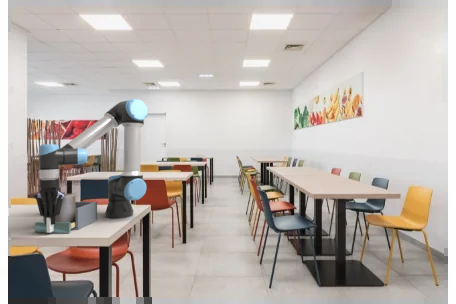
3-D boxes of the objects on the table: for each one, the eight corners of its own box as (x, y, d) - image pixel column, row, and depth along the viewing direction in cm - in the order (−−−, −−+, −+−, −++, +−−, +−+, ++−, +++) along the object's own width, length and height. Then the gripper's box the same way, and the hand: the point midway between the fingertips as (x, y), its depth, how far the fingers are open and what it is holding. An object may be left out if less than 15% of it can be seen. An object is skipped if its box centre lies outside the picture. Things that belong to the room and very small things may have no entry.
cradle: (66, 220, 159) (66, 201, 159) (97, 220, 158) (96, 201, 158) (43, 229, 141) (43, 208, 141) (78, 229, 140) (77, 208, 140)
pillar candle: (66, 220, 151) (65, 190, 151) (80, 221, 147) (79, 191, 147) (48, 224, 142) (47, 193, 142) (63, 226, 138) (62, 194, 138)
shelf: (59, 222, 152) (59, 214, 152) (90, 222, 152) (89, 214, 151) (35, 232, 135) (34, 222, 135) (69, 232, 134) (69, 222, 134)
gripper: (68, 178, 136) (69, 229, 136) (41, 178, 136) (41, 229, 137) (58, 179, 128) (59, 234, 129) (29, 179, 129) (30, 234, 129)
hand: (50, 231), depth 133 cm, fingers closed
